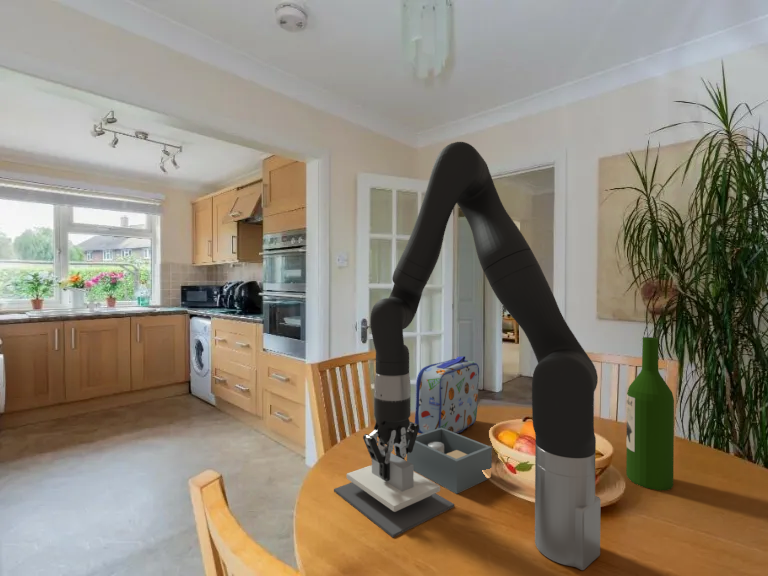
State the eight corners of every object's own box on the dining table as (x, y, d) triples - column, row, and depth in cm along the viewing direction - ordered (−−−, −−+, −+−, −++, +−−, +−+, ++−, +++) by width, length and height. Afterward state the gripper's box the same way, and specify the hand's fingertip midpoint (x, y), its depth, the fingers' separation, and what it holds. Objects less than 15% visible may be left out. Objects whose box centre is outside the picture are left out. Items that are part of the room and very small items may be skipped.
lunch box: (454, 414, 137) (454, 350, 137) (483, 420, 131) (483, 353, 131) (410, 439, 115) (410, 363, 115) (442, 448, 109) (442, 367, 109)
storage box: (491, 477, 92) (491, 447, 92) (456, 494, 85) (456, 461, 85) (441, 454, 105) (441, 427, 105) (406, 466, 98) (406, 438, 98)
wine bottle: (620, 470, 96) (621, 334, 96) (661, 473, 94) (663, 336, 94) (635, 488, 88) (636, 340, 87) (681, 492, 86) (683, 341, 85)
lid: (440, 495, 81) (440, 463, 80) (394, 517, 73) (394, 481, 73) (390, 467, 93) (390, 439, 93) (346, 482, 86) (346, 452, 86)
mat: (454, 506, 80) (454, 504, 80) (392, 537, 70) (392, 534, 70) (391, 470, 96) (391, 467, 96) (333, 491, 86) (333, 488, 86)
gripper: (376, 404, 76) (376, 495, 76) (429, 392, 84) (429, 474, 84) (354, 395, 82) (353, 480, 82) (405, 385, 90) (405, 461, 90)
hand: (392, 476), depth 83 cm, fingers closed on lid, 3 cm apart
